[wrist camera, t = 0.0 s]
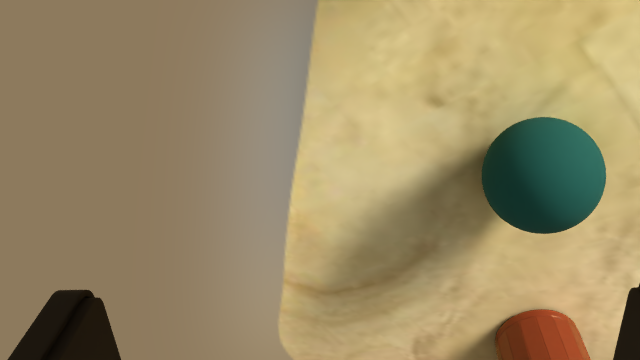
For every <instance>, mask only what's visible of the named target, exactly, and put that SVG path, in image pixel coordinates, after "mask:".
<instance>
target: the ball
mask: <svg viewBox="0 0 640 360" xmlns="http://www.w3.org/2000/svg"><path fill="white" fill-rule="evenodd" d="M605 182H606V168H605V163H604V159H603V156H602V154H601V151H600V150H599V148H598V146H597V145H596V143H595V142H594V140H593V139H592V138H591V137H590V136H589V135H588V134H587V133H586V132H585V131H583V130H582V129H581V128H579V127H577V126H576V125H574V124H572V123H570V122H567V121H564V120H561V119H556V118H550V117H539V118H532V119H527V120H524V121H521V122H518V123H516V124H514V125H512V126H510V127H509V128H507V129H506V130H505V131H503V132H502V133H501V134H500V135H499V136H498V137H497V138H496V139H495V140H494V141H493V143H492V144H491V146H490V147H489V149H488V151H487V153H486V155H485V158H484V162H483V166H482V185H483V190H484V193H485V196H486V198H487V200H488V202H489V204H490V206H491V207H492V208H493V210H494V211H495V212H496V213H497V214H498V215H499V216H500V217H501V218H502V219H503V220H504V221H506V222H507V223H509V224H510V225H512V226H514V227H516V228H518V229H521V230H523V231H527V232H531V233H541V234H548V233H556V232H561V231H564V230H567V229H569V228H572V227H574V226H575V225H577V224H579V223H580V222H582V221H583V220H584V219H586V218H587V217H588V216H589V215H590V214H591V213H592V211H593V210H594V209H595V208H596V206H597V205H598V203H599V201H600V199H601V197H602V195H603V191H604V187H605Z"/></svg>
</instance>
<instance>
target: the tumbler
mask: <svg viewBox="0 0 640 360" xmlns="http://www.w3.org/2000/svg"><path fill="white" fill-rule="evenodd" d="M495 346H496V352H497V356H498V360H591V359H590V357H589V355H588V352H587V350H586V347H585V345H584V343H583V340H582V338H581V336H580V333H579V331H578V329H577V327H576V325H575V323H574V322H573V321H572V320H571V319H570V318H569V317H567V316H566V315H564V314H562V313H559V312H557V311H552V310H542V309H541V310H531V311H526V312H523V313H520V314H518V315H515V316H514V317H512V318H510V319H509V320H507V321H506V322H505V323H504V324H503V325H502V326H501V327H500V329H499V330H498V332H497V334H496V338H495Z"/></svg>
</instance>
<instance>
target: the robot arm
mask: <svg viewBox="0 0 640 360" xmlns="http://www.w3.org/2000/svg"><path fill="white" fill-rule="evenodd" d="M8 360H121V358H120V355H119V352H118V348H117V345H116V342H115V339H114V335H113V332H112V329H111V326H110V323H109V319H108V316H107V313H106V310H105V307H104V303H103V301H102V300H101V299H100V298H95V297H94V295H93V293H92V292H91V291H89V290H59V291H56V292H55V293H54V294H53V295H52V296H51V297H50V299H49V300H48V302H47V303H46V305H45V306H44V307H43V309H42V310H41V312H40V313H39V315H38V316H37V318H36V319H35V321H34V322H33V323H32V325H31V326H30V328H29V329H28V331H27V332H26V334H25V335H24V337H23V338H22V339H21V341H20V342H19V344H18V345H17V347H16V348H15V350H14V351H13V353H12V354H11V356H10V357H9V359H8ZM613 360H640V284H639V287H637V288H632V289H631V290H630V291H629V294H628V298H627V302H626V307H625V311H624V315H623V320H622V324H621V328H620V332H619V337H618V341H617V345H616V349H615V354H614V358H613Z"/></svg>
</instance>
